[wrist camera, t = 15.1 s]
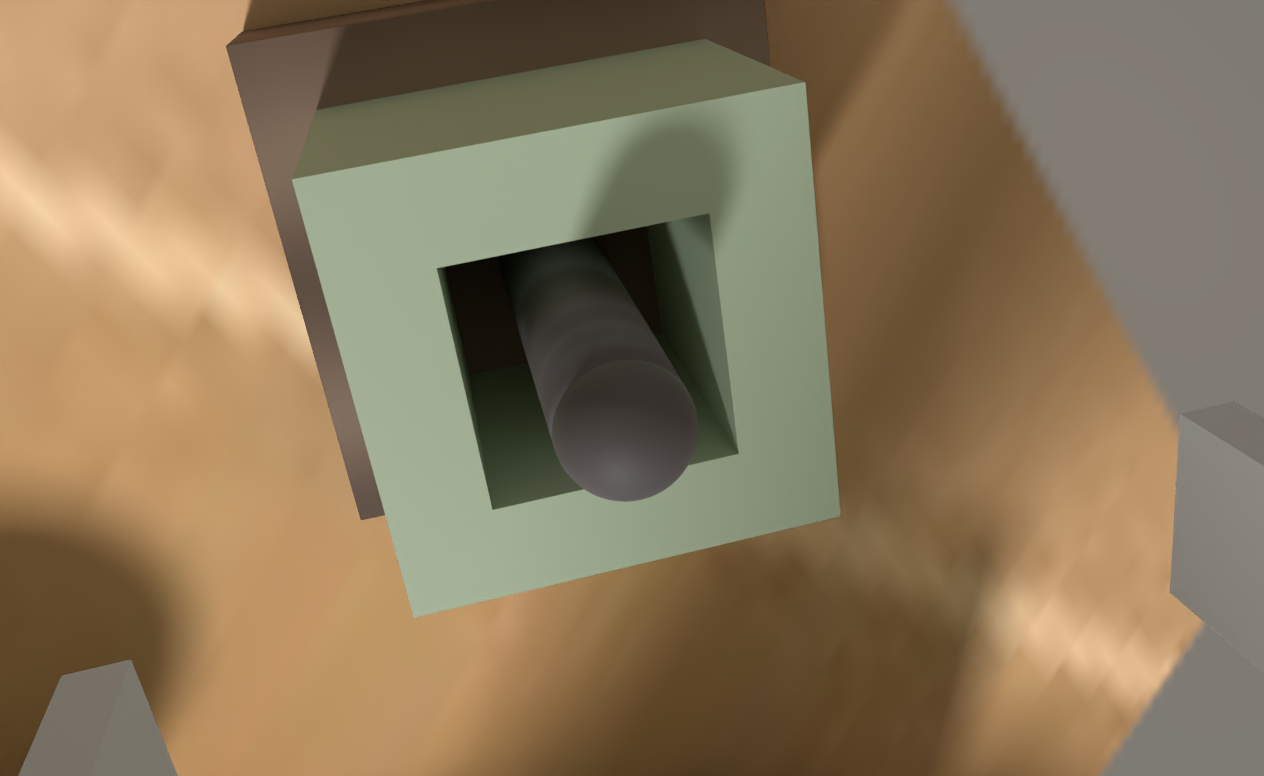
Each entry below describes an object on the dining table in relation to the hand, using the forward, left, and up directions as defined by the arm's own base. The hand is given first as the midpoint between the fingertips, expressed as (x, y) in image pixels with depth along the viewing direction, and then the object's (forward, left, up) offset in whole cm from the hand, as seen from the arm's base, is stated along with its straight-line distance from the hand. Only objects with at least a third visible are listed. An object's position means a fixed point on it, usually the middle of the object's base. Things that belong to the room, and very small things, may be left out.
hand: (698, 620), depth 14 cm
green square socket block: (0, 0, -15) cm, 15 cm away
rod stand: (0, 0, -18) cm, 18 cm away
